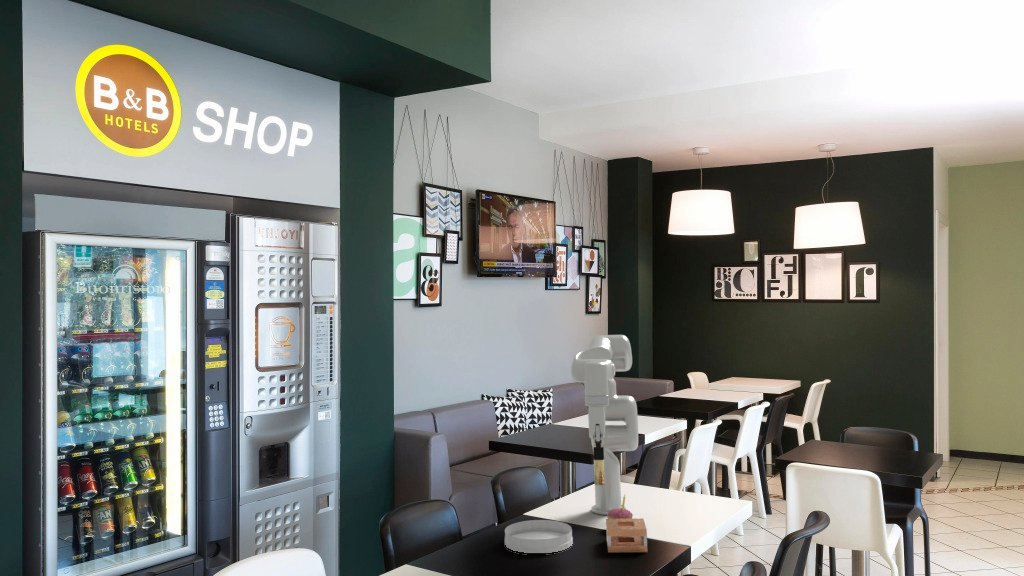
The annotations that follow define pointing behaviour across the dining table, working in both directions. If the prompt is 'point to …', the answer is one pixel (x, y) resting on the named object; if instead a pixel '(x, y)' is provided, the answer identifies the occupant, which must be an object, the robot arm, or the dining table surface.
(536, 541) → the dish
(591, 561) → the dining table surface
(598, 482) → the air tube
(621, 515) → the cupcake
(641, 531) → the collar stand
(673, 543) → the dining table surface
